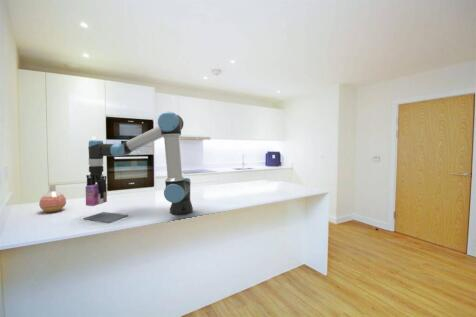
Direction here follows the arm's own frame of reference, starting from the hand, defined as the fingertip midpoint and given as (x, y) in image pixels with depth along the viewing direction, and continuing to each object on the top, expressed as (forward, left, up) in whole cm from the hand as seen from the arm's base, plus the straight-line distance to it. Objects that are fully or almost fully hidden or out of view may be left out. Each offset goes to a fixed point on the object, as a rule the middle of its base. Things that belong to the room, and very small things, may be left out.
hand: (96, 203), depth 139 cm
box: (0, 0, -1) cm, 1 cm away
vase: (+37, +1, -9) cm, 38 cm away
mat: (-6, -1, -9) cm, 11 cm away
